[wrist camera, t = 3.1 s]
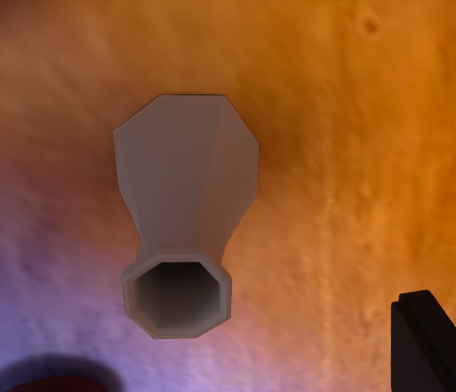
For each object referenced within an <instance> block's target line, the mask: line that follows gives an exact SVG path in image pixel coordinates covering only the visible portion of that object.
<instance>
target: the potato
mask: <svg viewBox="0 0 456 392" xmlns="http://www.w3.org/2000/svg"><path fill="white" fill-rule="evenodd" d="M5 392H109V391H108V390H107V389H106V388H104V387H103V386H102V385H100V384H99V383H97V382H96V381H94V380H92V379H89V378H85V377H82V376H74V375H58V376H48V377H45V378H42V379H38V380H35V381H32V382H29V383H25V384H22V385H19V386H16V387H13V388H11V389H9V390H7V391H5Z"/></svg>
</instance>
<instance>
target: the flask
mask: <svg viewBox="0 0 456 392" xmlns="http://www.w3.org/2000/svg"><path fill="white" fill-rule="evenodd" d="M113 140H114V150H115V160H116V170H117V180H118V188H119V191H120V193H121V195H122V197H123V199H124V201H125V203H126V205H127V208H128V210H129V212H130V214H131V216H132V219H133V222H134V224H135V227H136V229H137V232H138V235H139V237H140V240H141V242H140V247H139V252H138V257H137V261H136V262H134V263H133V264H131V265H130V266H128V267H127V268H125V270H124V271H123V272H122V276H121V280H122V289H123V298H124V308H125V314H126V315H127V316H128V317H130V318H131V319H132V320H133V321H134V322H135V323H136V324H137V325H139V326H140V327H141V328H142V329H143V330H144V331H145V332H146V333H148V334H149V335H150V336H151V337H152V338H153V339H180V338H197V337H199V336H201V335H203V334H204V333H206V332H208V331H209V330H211V329H213V328H215V327H216V326H218V325H220V324H221V323H223V322H225V321H227V320H228V319H230V318H231V295H232V278H231V276H230V274H229V273H228V272H227V270H226V269H225V268H224V267H223V266H222V265H221V263H222V259H223V254H224V250H225V246H226V244H227V242H228V241H229V239H230V237H231V236H232V234H233V232H234V230H235V229H236V227H237V225H238V224H239V222H240V220H241V219H242V218H243V216H244V215H245V213H246V212H247V211H248V209H249V208H250V206H251V205H252V204H253V202H254V200H255V199H256V194H257V177H258V161H259V142H258V141H257V140H256V138H255V137H254V136H253V134H252V133H251V131H250V130H249V129H248V127H247V126H246V124H245V123H244V122H243V120H242V119H241V118H240V116H239V115H238V113H237V112H236V111H235V109H234V108H233V106H232V105H231V104H230V102H229V101H228V100H227V98H226V97H225V96H211V95H160V96H159V97H157V98H156V99H155V100H153V101H152V102H151V103H149V104H148V105H147V106H146V107H144V108H143V109H142V110H140V111H139V112H138V113H136V114H135V115H134V116H132V117H131V118H130V119H128V120H127V121H126V122H124V123H123V124H122V125H120V126H119V127H118V128H117V129H115V130H114V131H113Z"/></svg>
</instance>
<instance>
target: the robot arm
mask: <svg viewBox="0 0 456 392" xmlns="http://www.w3.org/2000/svg"><path fill="white" fill-rule="evenodd" d="M391 389H392V392H456V327H455V326H454V324H453V323H452V321H451V320H450V319H449V317H448V316H447V314H446V313H445V311H444V310H443V309H442V307H441V306H440V304H439V303H438V302H437V300H436V299H435V297H434V296H433V294H432V293H431V292H430V291H429V290H421V291H415V292H409V293H402V294H400V295H399V300H398V301H396V302H392V304H391Z"/></svg>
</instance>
